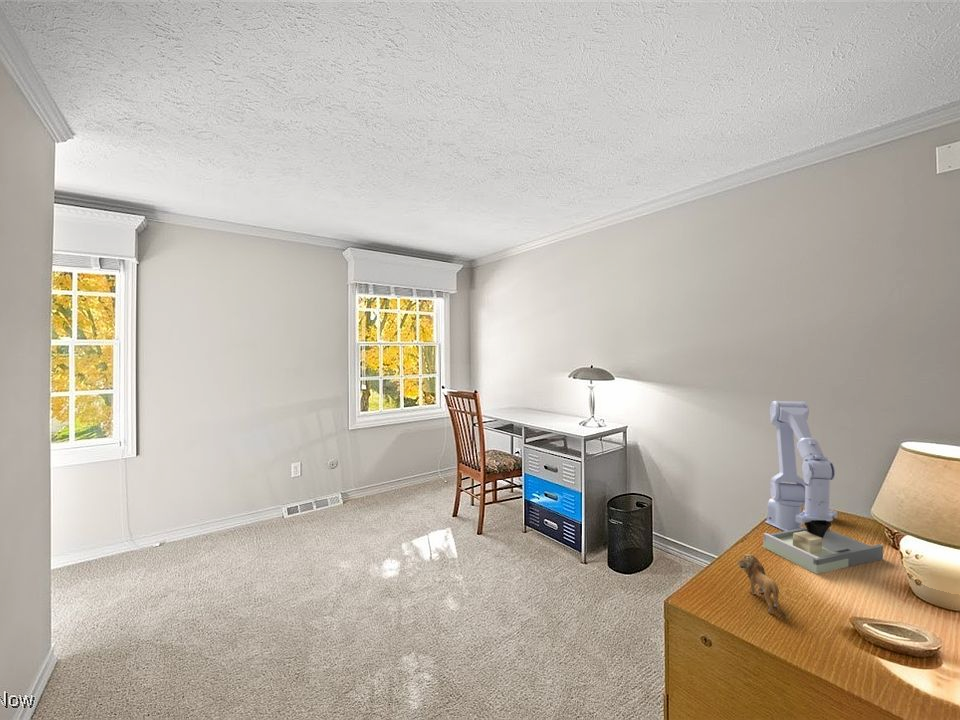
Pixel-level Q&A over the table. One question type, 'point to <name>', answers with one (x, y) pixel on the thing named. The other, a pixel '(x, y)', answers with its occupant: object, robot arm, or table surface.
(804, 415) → the robot arm
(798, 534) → the birch block
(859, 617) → the table surface
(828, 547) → the trap box
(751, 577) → the lion figurine
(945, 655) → the table surface
